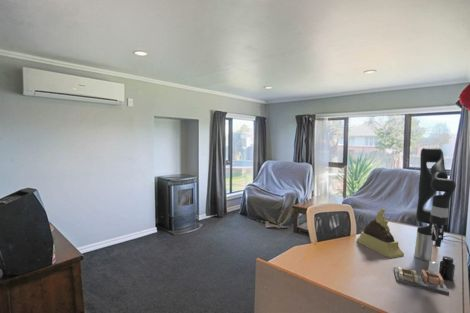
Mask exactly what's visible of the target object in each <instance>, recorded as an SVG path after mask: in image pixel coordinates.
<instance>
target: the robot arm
mask: <svg viewBox="0 0 470 313" xmlns="http://www.w3.org/2000/svg"><path fill="white" fill-rule="evenodd" d="M419 157H420V164H419V165H420V171H419V173H420V174H419V180H418V197H417V198H418V200H417V207H416V213H415V218H416V221H417V222H419V223H424V224H427V225H425V226H424V225H423V226H418V227H417V229H416V230H417V231H416V238H415V246H414V254H413V256H414V257H415V258H416V259H418V260H421V261H425V262H429V261H432V253H433V245H435V247H439V248H440V247H441V245H442V241H444V233H445V228H444V227H443V226H447V225H448V218H449V205H450V200H451V197H452V195H453V193H454V192H455V189H456V187H457V184H456V182H455V181H454V180H453V179H450V178H449V176H448V173H447V170H446V168H445V158H444V152H443V150H442V149H441V148H440V147H423V148H421V150H420V156H419ZM427 163H434V164H433V165H431V168H430V169H429V168H428V164H427ZM436 192H442V193H443V192H444V193H443V194H439V195H438V194H436ZM431 198H432V205H431V208H430V209H427V208H424V206H425V205H426V203H427V202H428V201H429V200H430V199H431Z"/></svg>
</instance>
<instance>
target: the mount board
mask: <svg viewBox="0 0 470 313" xmlns="http://www.w3.org/2000/svg"><path fill="white" fill-rule="evenodd" d="M393 272H394V275H395V281H396V282H397V283H400V284H404V285H408V286H412V287H415V288H420V289H423V290H428V291H431V292H436V293H439V294H444V295H448V296H449V295H450V291H449V290H448V288H447V286H446V284H445V281H444V282H443V286H441V285H439V283H438V285H437V284H433V283H429V282H428V279H427V282H425V281H424V280H423V278H422V276H421V272H418V271H416V270H414V269H410V268H404V267H400V266H398V267H397V266H394V267H393Z"/></svg>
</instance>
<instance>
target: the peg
mask: <svg viewBox="0 0 470 313" xmlns="http://www.w3.org/2000/svg"><path fill="white" fill-rule="evenodd" d="M438 268H439V263H438V262H437V261H435V260H430V261H428V269H427V271H428V275H427V276H428V278H429V276H431V277H435V278H437V273H438V271H439V269H438Z"/></svg>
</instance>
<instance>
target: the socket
mask: <svg viewBox="0 0 470 313" xmlns="http://www.w3.org/2000/svg"><path fill="white" fill-rule="evenodd" d="M420 273H421V276H422V278H423V280H424V281H425V282H427V279H428V282H429V283H433V284H437V285H438V283H439V285H441V286H443V282H444V283H445V280H444V279H443V278H442V277H441V275H440V273H439V272H437V278H435V277H431V276H429V278H428V276H427V275H428V270H425V269H421V272H420Z"/></svg>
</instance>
